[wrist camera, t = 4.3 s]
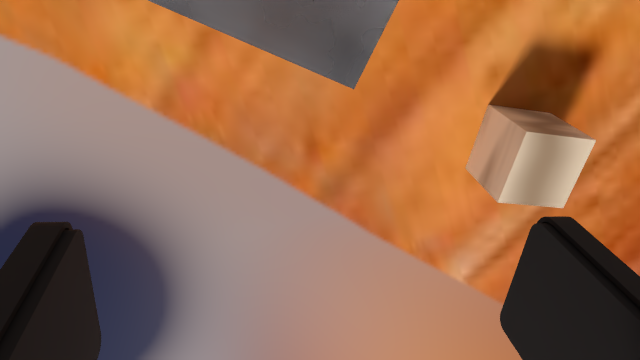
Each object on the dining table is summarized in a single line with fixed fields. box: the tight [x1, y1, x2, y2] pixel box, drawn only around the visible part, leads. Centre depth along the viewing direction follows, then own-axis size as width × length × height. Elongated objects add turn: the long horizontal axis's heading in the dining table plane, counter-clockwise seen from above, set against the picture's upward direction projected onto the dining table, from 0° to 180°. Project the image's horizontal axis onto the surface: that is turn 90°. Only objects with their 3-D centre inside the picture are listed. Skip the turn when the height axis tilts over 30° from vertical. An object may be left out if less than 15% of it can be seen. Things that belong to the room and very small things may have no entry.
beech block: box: [465, 104, 596, 208], centre depth 32 cm, size 5×5×5 cm
